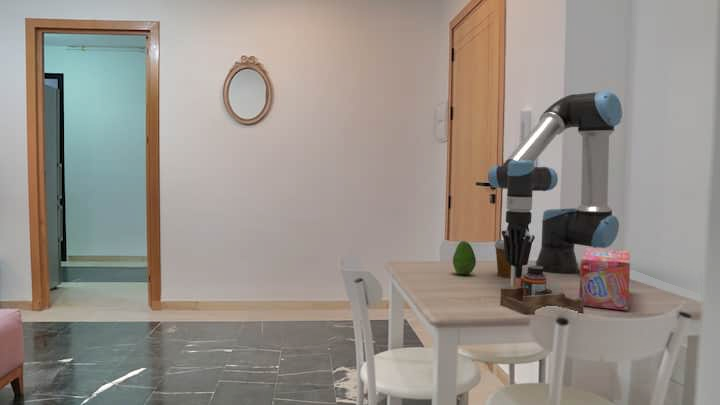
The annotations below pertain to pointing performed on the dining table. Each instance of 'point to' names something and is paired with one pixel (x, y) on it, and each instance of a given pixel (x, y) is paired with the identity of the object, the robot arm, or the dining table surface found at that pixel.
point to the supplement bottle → (534, 281)
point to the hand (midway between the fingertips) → (515, 286)
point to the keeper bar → (520, 281)
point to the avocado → (464, 258)
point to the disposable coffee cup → (502, 260)
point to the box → (605, 278)
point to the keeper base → (537, 301)
